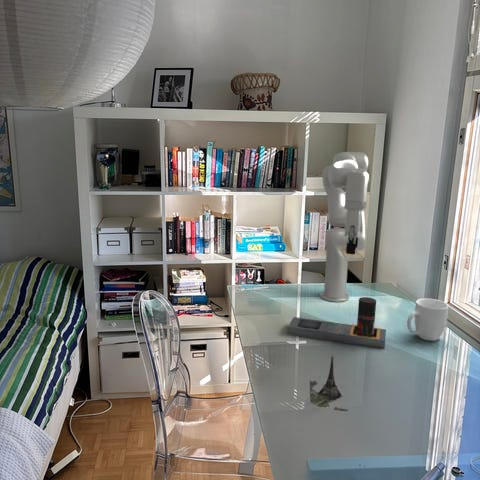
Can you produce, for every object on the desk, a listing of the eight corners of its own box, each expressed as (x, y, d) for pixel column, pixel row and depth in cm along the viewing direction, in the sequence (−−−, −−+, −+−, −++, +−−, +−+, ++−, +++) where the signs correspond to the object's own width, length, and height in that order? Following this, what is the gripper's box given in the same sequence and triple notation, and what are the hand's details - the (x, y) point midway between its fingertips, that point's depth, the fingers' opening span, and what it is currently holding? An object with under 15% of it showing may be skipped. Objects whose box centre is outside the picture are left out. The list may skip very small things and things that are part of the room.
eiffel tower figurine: (309, 381, 144) (311, 340, 141) (343, 384, 143) (346, 342, 140) (310, 409, 130) (313, 364, 127) (348, 413, 128) (352, 366, 126)
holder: (293, 324, 185) (293, 316, 185) (385, 337, 175) (386, 329, 175) (287, 334, 176) (288, 326, 175) (384, 348, 166) (385, 339, 165)
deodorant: (373, 343, 170) (377, 303, 166) (356, 342, 171) (359, 302, 167) (372, 337, 175) (375, 297, 172) (355, 335, 176) (358, 296, 173)
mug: (416, 346, 168) (419, 311, 165) (397, 333, 178) (400, 300, 176) (451, 341, 173) (455, 307, 170) (430, 329, 183) (434, 297, 180)
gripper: (347, 200, 184) (343, 244, 188) (342, 208, 168) (338, 255, 172) (367, 202, 182) (363, 245, 186) (364, 209, 166) (360, 257, 170)
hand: (351, 250), depth 179 cm, fingers open, 9 cm apart
